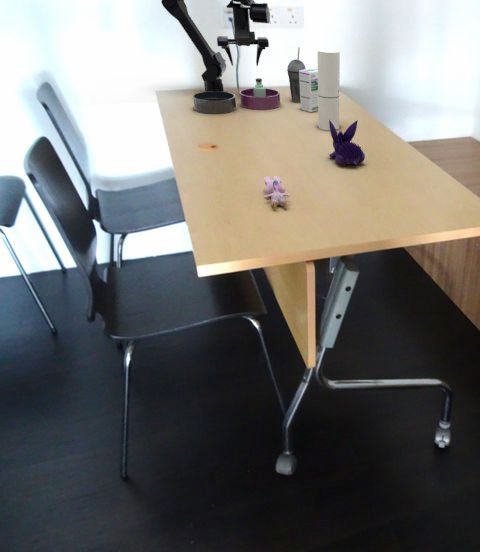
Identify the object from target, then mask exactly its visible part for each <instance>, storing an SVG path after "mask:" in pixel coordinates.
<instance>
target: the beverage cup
mask: <svg viewBox="0 0 480 552" xmlns="http://www.w3.org/2000/svg"><path fill="white" fill-rule="evenodd" d="M297 47H298V48H297V58H296V59H292V60H291V61H290V62H288V65H287V70H286V72H287V76H288V81H289V82H288V83H289V89H290V97H291V102H292V103H297V104H299V103H300V81H299V70H304V69H307V68H306V65H305V64H304V62H303V61H302V60H300V49H301V48H300V47H299V46H297Z"/></svg>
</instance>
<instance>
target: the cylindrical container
mask: <svg viewBox="0 0 480 552" xmlns="http://www.w3.org/2000/svg"><path fill="white" fill-rule="evenodd" d="M340 55H341V52H340V50H338V49H335V48H319V49H317V70H318V111H317V112H318V113H317V116H318V117H317V118H318V119H317V120H318V127H317V128H318V129H320V130H323V131H330V125H329V120H330V121H331V123H332V124H333V125H334V127H335V129H336V130H340V75H341V74H340V69H341V68H340V66H341V65H340V63H341V62H340V61H341V60H340V57H341V56H340Z"/></svg>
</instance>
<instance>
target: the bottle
mask: <svg viewBox="0 0 480 552" xmlns="http://www.w3.org/2000/svg"><path fill="white" fill-rule="evenodd" d="M262 82H263V79H262V78H260V77H259V78H255V84H254V86H253V87H252V88H253V92H254V97H266V90H265V88H266V87H265V86H264V84H263V83H262Z"/></svg>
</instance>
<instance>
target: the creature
mask: <svg viewBox="0 0 480 552" xmlns="http://www.w3.org/2000/svg"><path fill="white" fill-rule="evenodd" d="M329 125H330V130H329V132H330V136H331V138H332V147H333V150H334V151H333V152H332V153H328V156H329V158H331V159H334V161H335V162H336V163H337V164H339V165H341V166H343V165H356V166H357V165H358V163H359V164H361V163H363V162H364V161H365V158H366V155H365V152H364V150H363V147H361V146H360V144H357V143H355V142H353V138H355V135H356V131H357V127H358V126H357V125H358V119H356V120H355V121H354V122H352V123H351V124H350V125H349V126H348V127H347V128H346V129H345V131H344V132H343V130H342V129H339V130H337V129H335V127H334V125H333V124H332V123H331V121H330V120H329Z"/></svg>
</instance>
